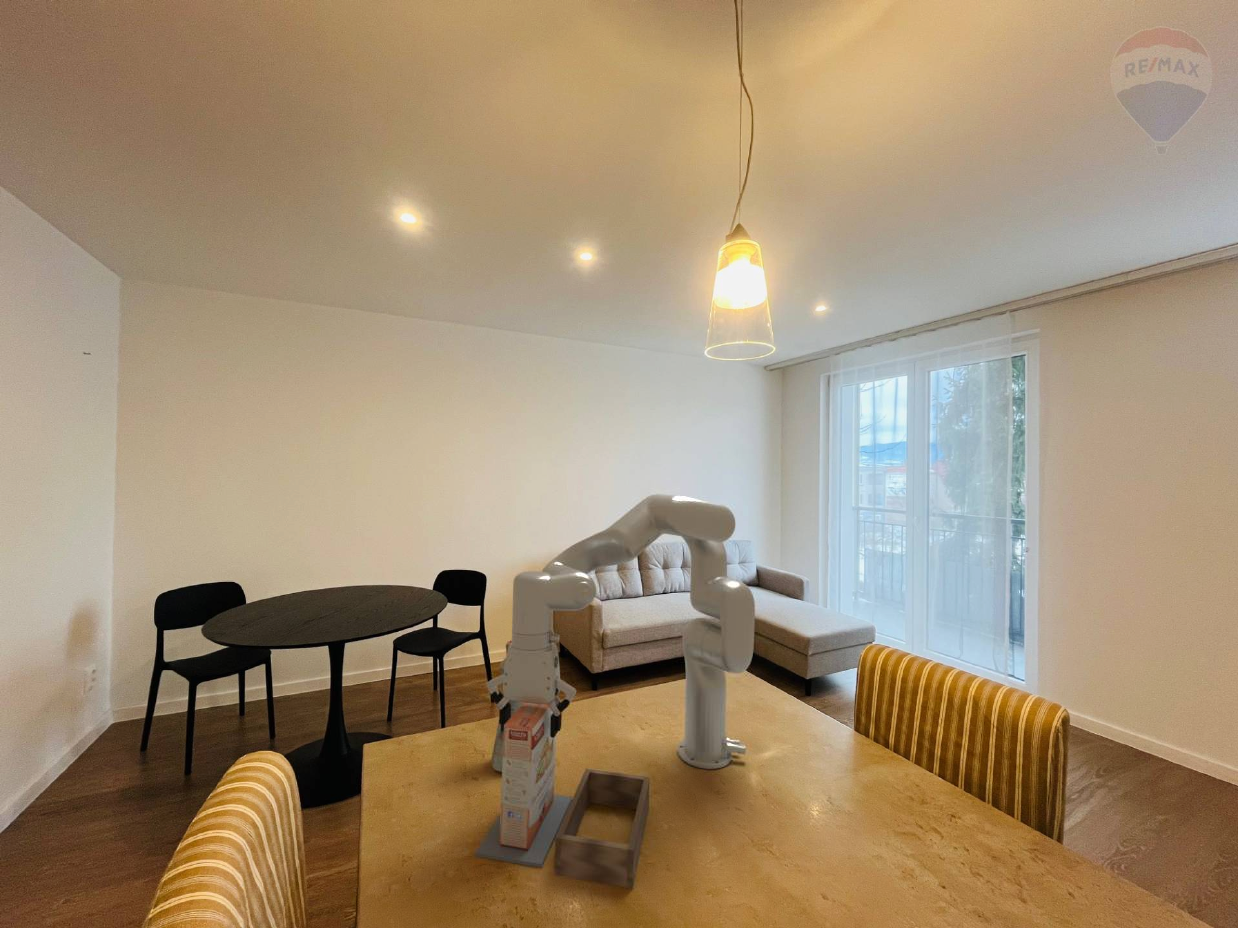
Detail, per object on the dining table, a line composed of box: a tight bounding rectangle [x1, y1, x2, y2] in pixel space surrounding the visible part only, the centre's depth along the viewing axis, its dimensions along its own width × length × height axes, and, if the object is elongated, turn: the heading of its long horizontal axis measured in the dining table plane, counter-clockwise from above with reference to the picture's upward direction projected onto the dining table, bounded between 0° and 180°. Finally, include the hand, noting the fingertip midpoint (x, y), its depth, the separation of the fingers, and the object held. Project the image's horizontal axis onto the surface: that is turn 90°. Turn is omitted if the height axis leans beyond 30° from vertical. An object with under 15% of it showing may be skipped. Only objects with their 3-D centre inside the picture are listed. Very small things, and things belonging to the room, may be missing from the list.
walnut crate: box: [553, 768, 650, 890], centre depth 91 cm, size 13×20×6 cm, turn 169°
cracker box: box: [499, 702, 557, 850], centre depth 94 cm, size 14×6×21 cm, turn 169°
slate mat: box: [474, 793, 573, 869], centre depth 93 cm, size 12×18×1 cm, turn 169°
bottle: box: [490, 640, 524, 773], centre depth 114 cm, size 9×9×28 cm
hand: (529, 730), depth 94 cm, fingers open, 9 cm apart
